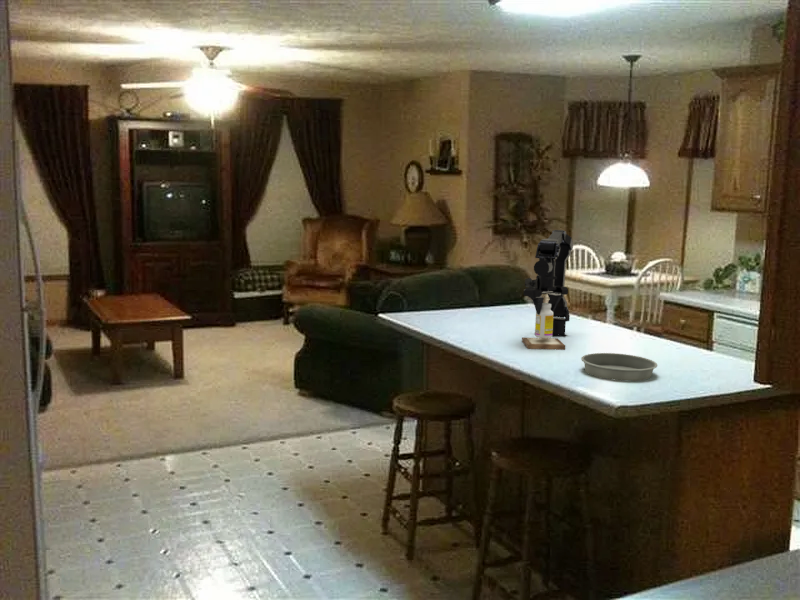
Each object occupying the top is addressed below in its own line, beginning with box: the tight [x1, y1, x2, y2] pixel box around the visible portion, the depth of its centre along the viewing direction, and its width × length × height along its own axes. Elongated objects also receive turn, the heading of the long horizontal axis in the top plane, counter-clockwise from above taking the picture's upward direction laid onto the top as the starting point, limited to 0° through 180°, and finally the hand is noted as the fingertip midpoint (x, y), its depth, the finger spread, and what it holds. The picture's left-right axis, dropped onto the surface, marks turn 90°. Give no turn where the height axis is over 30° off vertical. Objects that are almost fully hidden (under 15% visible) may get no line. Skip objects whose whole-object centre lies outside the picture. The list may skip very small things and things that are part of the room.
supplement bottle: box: [534, 302, 553, 338], centre depth 317 cm, size 7×7×13 cm
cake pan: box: [580, 352, 658, 382], centre depth 276 cm, size 25×25×4 cm
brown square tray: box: [521, 337, 566, 351], centre depth 318 cm, size 14×14×2 cm
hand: (544, 313), depth 316 cm, fingers closed on supplement bottle, 7 cm apart
